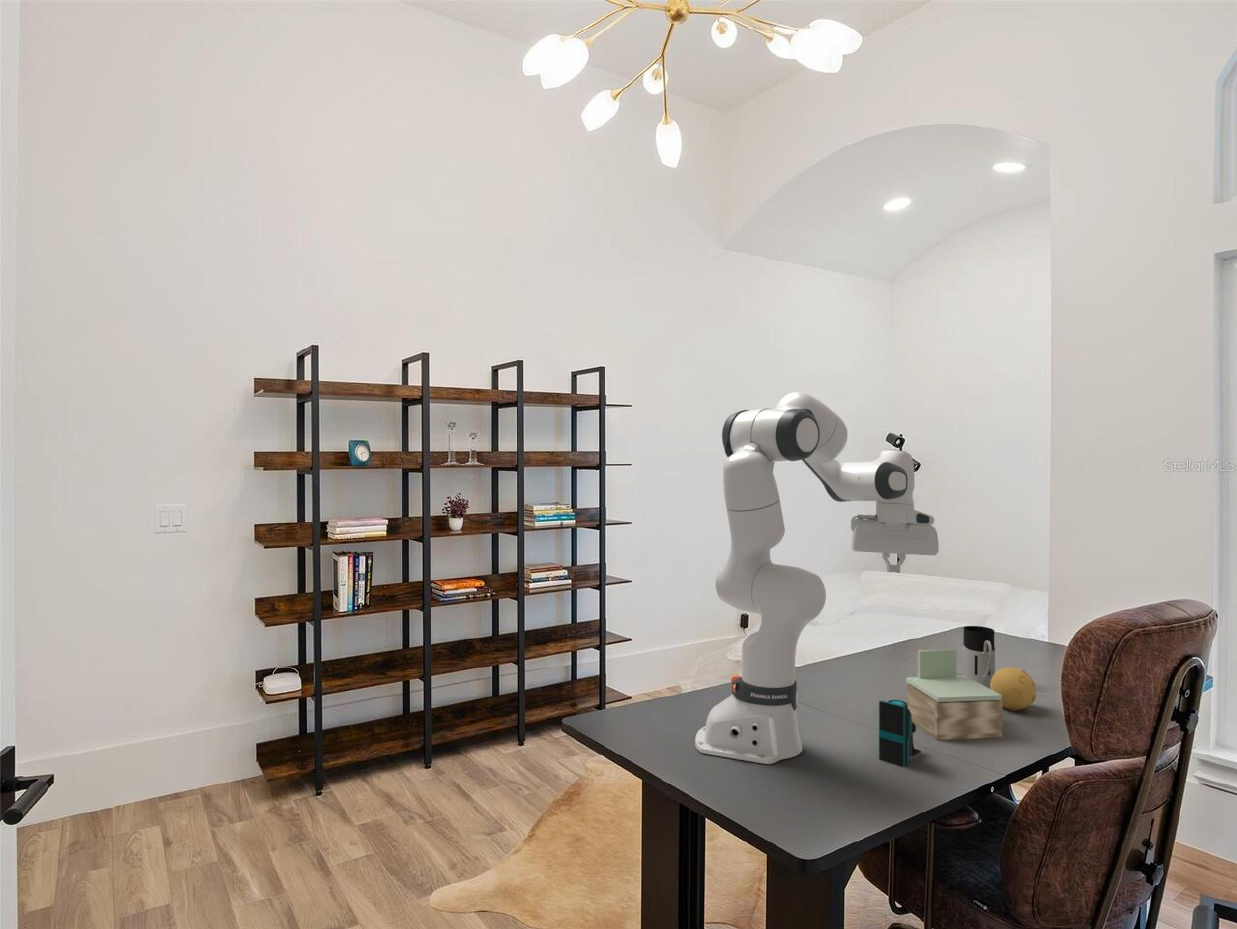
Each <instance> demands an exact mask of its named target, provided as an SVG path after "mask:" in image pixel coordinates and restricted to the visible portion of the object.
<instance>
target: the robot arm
mask: <svg viewBox="0 0 1237 929" xmlns="http://www.w3.org/2000/svg"><path fill="white" fill-rule="evenodd" d="M721 430H722V431H721V440H722V446H723V450H724V453H725V455H726V459H725V461H724V464H723V469H722V470H723V471H722V473H723V475H722V476H723V478H722V480H723V494H724V502H725V508H726V512H727V518H728V525H729V532H730V539H731V543H730V544H731V545H730V546H731V547H730V552H729V555H728V559H727V561H726V562H725V563H724V564H722V566H721V567H720V569H719V570H718V572H717V574H716V578H715V590H716V594H717V596H718V598H719V599H720V600H721V601H722V602H723V603H724V604H725V603H726V604H727V605H729V606H731V607H733V608H735V609H737V610H739V611H745V612H748V613H753V614H759V615H761V623H760V626H759V629H758V631H755V632H753V633H751V634H749V635H748V636H747V637H746V638H745V639H744V641H743V643H742V646H741V676H740V675H739V674H737V673H734V674H732V676H731V679H730V682H731V685H732V686H731V692H732V694H731V695H729V696H728V697H726V698H725V699H723V700H722V701H721V702H719V703H718V704H716V705H714V707H712V708H711V709H710V712H709V713H708V715H707V718H706V723H705V726H703V727H701V728H700V729H699V730H698V731H697V732H696V735H695V737H694V738H695V740H694V747H695V748H696V750H697V751H698V752H699V753H701V754H706V755H712V756H715V757H717V756H718V757H722V758H724V757H725V758H728V759H729V758H730V759H734V760H740V761H747V762H753V763H758V764H759V763H760V764H765V765H772V764H775V763H777V762H778V761H781V760H785V759H786V760H787V759H791V758H793V757H796V756H798V755H800V754H801V753H802V752H803V744H802V741H801V737H800V733H799V728H798V726H799V725H798V721H797V720H798V719H797V706H798V697H799V696H798V684H797V680H796V656H797V655H796V654H797V645H798V642H799V638H800V636H801V634H802V632H803V630H804V629H805V627H806V626H807V625H808V624H809V623H810V622H811V621H813V620H814V619H816V618H817V617H819V615H820V614H821V613H822V611H823V609H824V606H825V604H826V601H827V600H826V598H827V591H826V588H825V584H824V582H823V580H822V579H821V577H820V576H819V575H817V574H815V573H813V572H811V571H809V570H805V569H803V568H800V567H797V566H790V565H783V564H777V563H776V564H775V563H773V561H772V560H771V549H773V548H775V547H776V546H778V544H780V542H781V541H782V539H783V537H784V535H785V533H786V531H785V530H786V529H785V528H786V527H785V522H784V517H783V510H782V506H781V500H780V494H779V489H778V486H777V481H776V478H775V476H774V468H775V462H785V461H789V462H798V461H802V462H803V463H804V464H805V466H806V467H807V468H808V469H809V470H810V471H811V473H813V475H815V477H816V478H817V479H818V480H819V481H820V482H821V483H822V485H823V486H824V488H825V491H826V492H827V494H828V495H829V496H830V498H831V499H832V500H833V501H835V502H838V503H841V502H842V503H845V502H854V501H855V502H856V501H857V502H870V501H871V502H876V503H875V514H857V515H856V516H853V517H852V518H851V520H850V530H851V531H852V533H851V543H850V544H851V545H850V548H851V550H852V551H853V552H861V553H865V552H866V553H881V554H882V556H881V558H882V559H883V561H884V563H885V564H886V573H887V572H888V573H898V574H899V573H901V566H902V564H904V562H905V560H906V555H916V556H917V555H918V556H937V554H938V553H939V550H940V549H939V546H940V545H939V536H938V531H937V529H936V527H934V526H933V525H934V524H935V518H934V516H932V515H930V514H927V513H923V511H919V510H915V502H914V497H913V496H914V495H913V494H914V489H915V464H914V461H913V457H912V455H911V454H910V453H908V452H907V451H903V450H901V449H885V450H884V449H883V451H881V452H880V453H879V457H877V458H875V459H874V460H871V461H870V460H869V461H838V460H836V458H837V457H838V456H839V455H840V454H841V453H842V451H843V450H844V449H845V447H846V445H847V441H848V437H849V436H848V428H847V426H846V423H845V422H844V421H843V420H842V418H841V417H840V416H839V415H838V414H836V412H834V411H833V410H832V409H831V408H830V407H828V406H827V405H826V404H825V403H823V402H822V401H820V400H819V399H817V398H816V397H814V396H812V395H810V394H808V393H806V392H803V391H792V392H790V393H788V394H786V395H784V396H782V398H780V400H779V401H778V402H777V403H776V406H775V408H772V407H769V408H768V407H766V408H765V407H764V408H763V407H762V408H756V409H751V410H749V409H744V410H740V411H736V412H733V413H732V414H730V415H729V416H728V417H727V418H726V419H725V421H724V424H723V427H722V429H721ZM891 554H896V555H897V558H898V559H899V560H898V561H897V563H896V564H891V562H890V560H889V558H891Z"/></svg>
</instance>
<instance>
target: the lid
mask: <svg viewBox="0 0 1237 929" xmlns="http://www.w3.org/2000/svg"><path fill="white" fill-rule="evenodd" d="M957 654H958V653H957V650H956V649H954V648H950V649H949V648H948V649H917V673H916V674H917V676H911V677H909V676H908V677H906V678H905V680H906V681H905V682H906V683H907V684H911V685H912V686H914V687H915V688H917V689H918V690H920V691H922V692H923V693H925V694H926V695H928V696H930V697H931V698H933V699H934V700H936V701H937V702H952V701H980V700H1001V699H1002V695H1000V694H998V693H996V692H995V691H993V690H991V689H989V688H987V687H985V686H983V685H981V684H980V683H978V682H976V681H974V680H972V679H970V678H968V677H966V676H963V675H957Z"/></svg>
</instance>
